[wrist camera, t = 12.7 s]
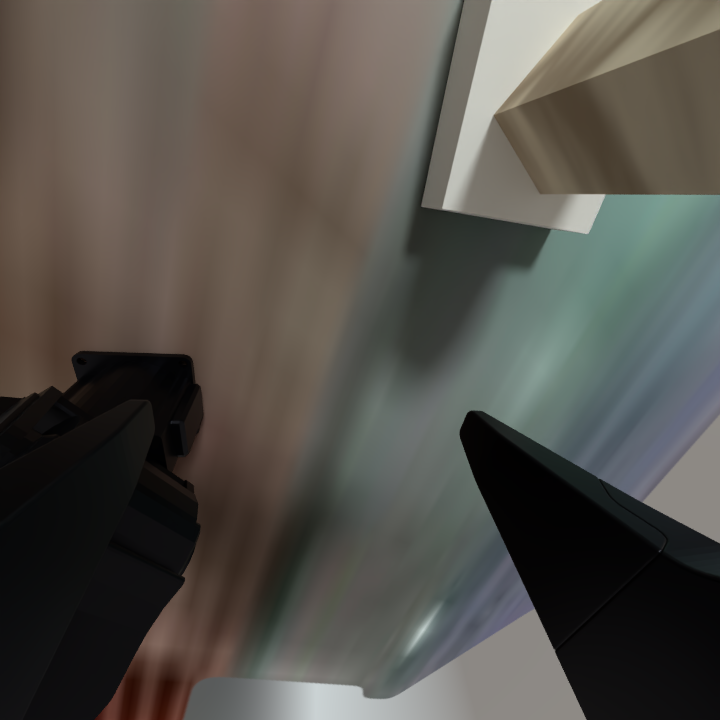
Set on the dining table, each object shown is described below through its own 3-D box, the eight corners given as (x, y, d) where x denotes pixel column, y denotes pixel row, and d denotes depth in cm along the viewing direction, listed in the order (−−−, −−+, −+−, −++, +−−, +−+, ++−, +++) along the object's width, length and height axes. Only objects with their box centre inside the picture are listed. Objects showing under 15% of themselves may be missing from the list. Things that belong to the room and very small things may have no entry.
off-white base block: (421, 206, 19) (442, 208, 16) (469, -27, 15) (509, -74, 12) (552, 229, 22) (588, 233, 19) (627, 36, 17) (688, 8, 15)
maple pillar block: (540, 194, 17) (922, 195, 7) (493, 115, 15) (959, -63, 5) (616, 113, 16) (1213, -31, 6) (578, 14, 14) (1456, -524, 3)
